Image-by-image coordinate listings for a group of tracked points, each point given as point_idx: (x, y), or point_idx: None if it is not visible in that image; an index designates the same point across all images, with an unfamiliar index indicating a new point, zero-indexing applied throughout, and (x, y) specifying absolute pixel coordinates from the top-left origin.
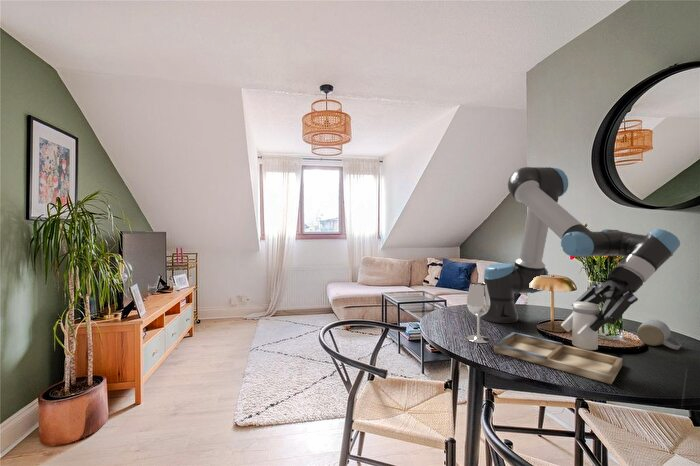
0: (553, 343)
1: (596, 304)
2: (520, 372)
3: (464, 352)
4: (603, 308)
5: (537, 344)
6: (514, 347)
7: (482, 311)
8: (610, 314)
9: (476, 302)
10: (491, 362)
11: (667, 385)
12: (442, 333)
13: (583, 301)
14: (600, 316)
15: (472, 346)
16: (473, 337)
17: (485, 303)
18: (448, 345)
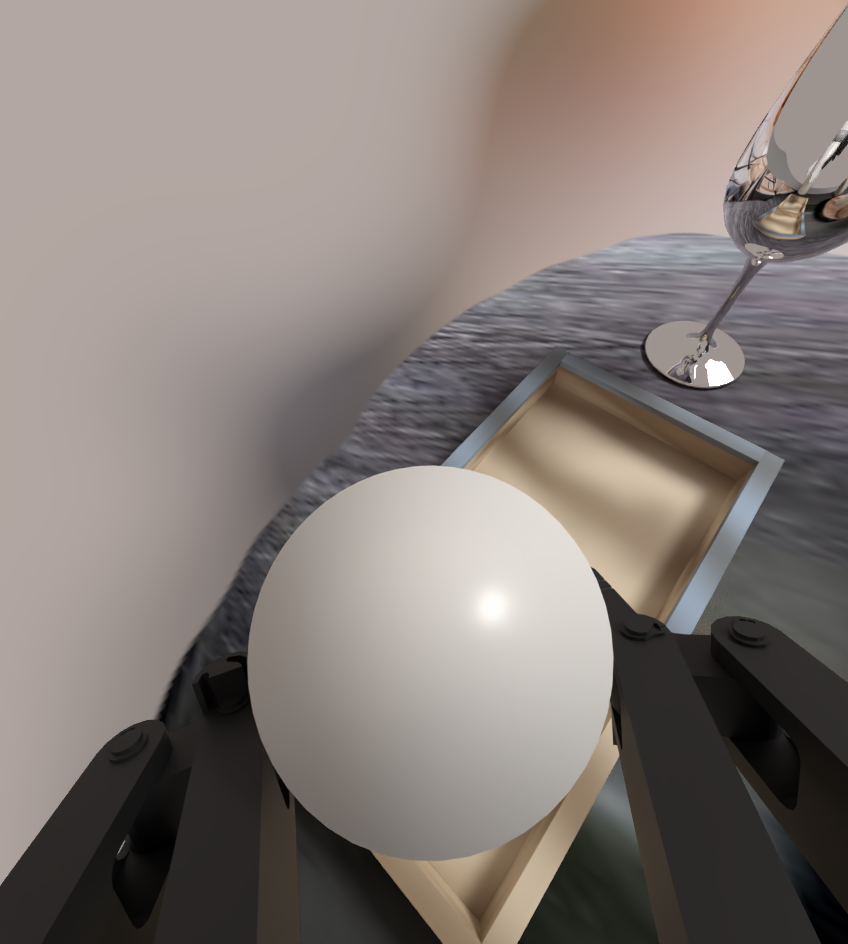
0: (668, 614)
1: (424, 843)
2: (384, 409)
3: (531, 302)
4: (224, 837)
5: (693, 557)
6: (621, 448)
7: (729, 221)
8: (67, 805)
9: (750, 142)
10: (457, 353)
11: None
12: (714, 265)
13: (724, 750)
14: (205, 696)
15: (599, 327)
16: (688, 332)
17: (766, 175)
18: (585, 272)
